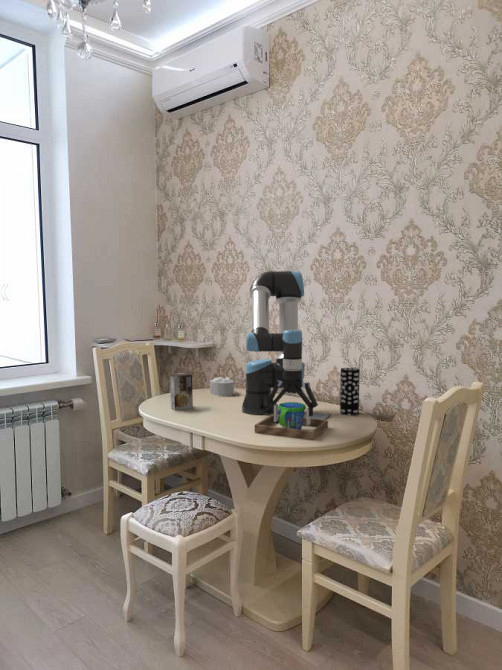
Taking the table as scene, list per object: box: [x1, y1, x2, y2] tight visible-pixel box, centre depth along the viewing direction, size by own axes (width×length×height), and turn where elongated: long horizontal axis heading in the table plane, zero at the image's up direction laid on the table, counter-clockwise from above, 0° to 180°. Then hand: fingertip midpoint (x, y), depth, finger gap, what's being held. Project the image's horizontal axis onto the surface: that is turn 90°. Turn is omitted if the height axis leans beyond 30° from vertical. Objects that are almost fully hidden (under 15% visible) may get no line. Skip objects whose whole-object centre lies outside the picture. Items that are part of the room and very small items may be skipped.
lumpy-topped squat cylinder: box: [209, 376, 235, 397], centre depth 274 cm, size 10×13×9 cm
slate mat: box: [303, 411, 331, 420], centre depth 224 cm, size 15×15×1 cm
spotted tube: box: [339, 367, 361, 416], centre depth 232 cm, size 8×8×20 cm
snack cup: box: [278, 401, 307, 430], centre depth 205 cm, size 16×10×10 cm
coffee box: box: [169, 372, 194, 411], centre depth 242 cm, size 9×6×16 cm
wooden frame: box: [254, 413, 329, 441], centre depth 205 cm, size 24×19×3 cm
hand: (292, 422), depth 205 cm, fingers open, 13 cm apart
